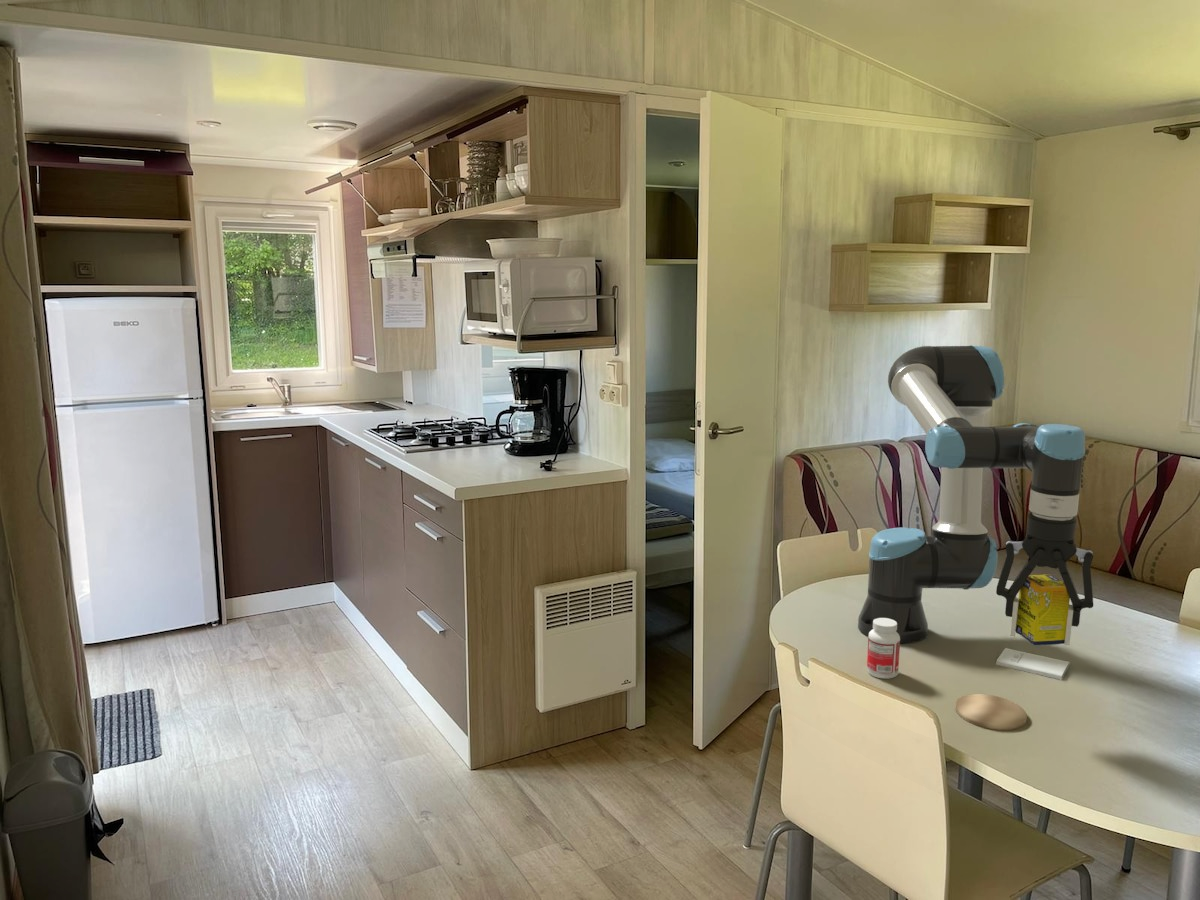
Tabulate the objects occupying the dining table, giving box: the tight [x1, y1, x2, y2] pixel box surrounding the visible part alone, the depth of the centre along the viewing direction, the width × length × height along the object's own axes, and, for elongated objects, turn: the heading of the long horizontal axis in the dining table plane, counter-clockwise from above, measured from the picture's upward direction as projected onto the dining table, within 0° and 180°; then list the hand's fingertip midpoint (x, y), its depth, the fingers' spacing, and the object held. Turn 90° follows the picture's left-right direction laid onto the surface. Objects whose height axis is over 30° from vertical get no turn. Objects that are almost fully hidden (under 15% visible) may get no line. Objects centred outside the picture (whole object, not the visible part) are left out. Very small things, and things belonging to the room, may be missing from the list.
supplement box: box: [1015, 573, 1071, 647], centre depth 158 cm, size 6×6×11 cm
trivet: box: [955, 693, 1028, 731], centre depth 165 cm, size 12×12×1 cm
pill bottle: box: [866, 618, 901, 680], centre depth 181 cm, size 6×6×11 cm
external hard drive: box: [995, 647, 1070, 681], centre depth 186 cm, size 2×8×12 cm
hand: (1039, 637), depth 159 cm, fingers closed on supplement box, 8 cm apart
